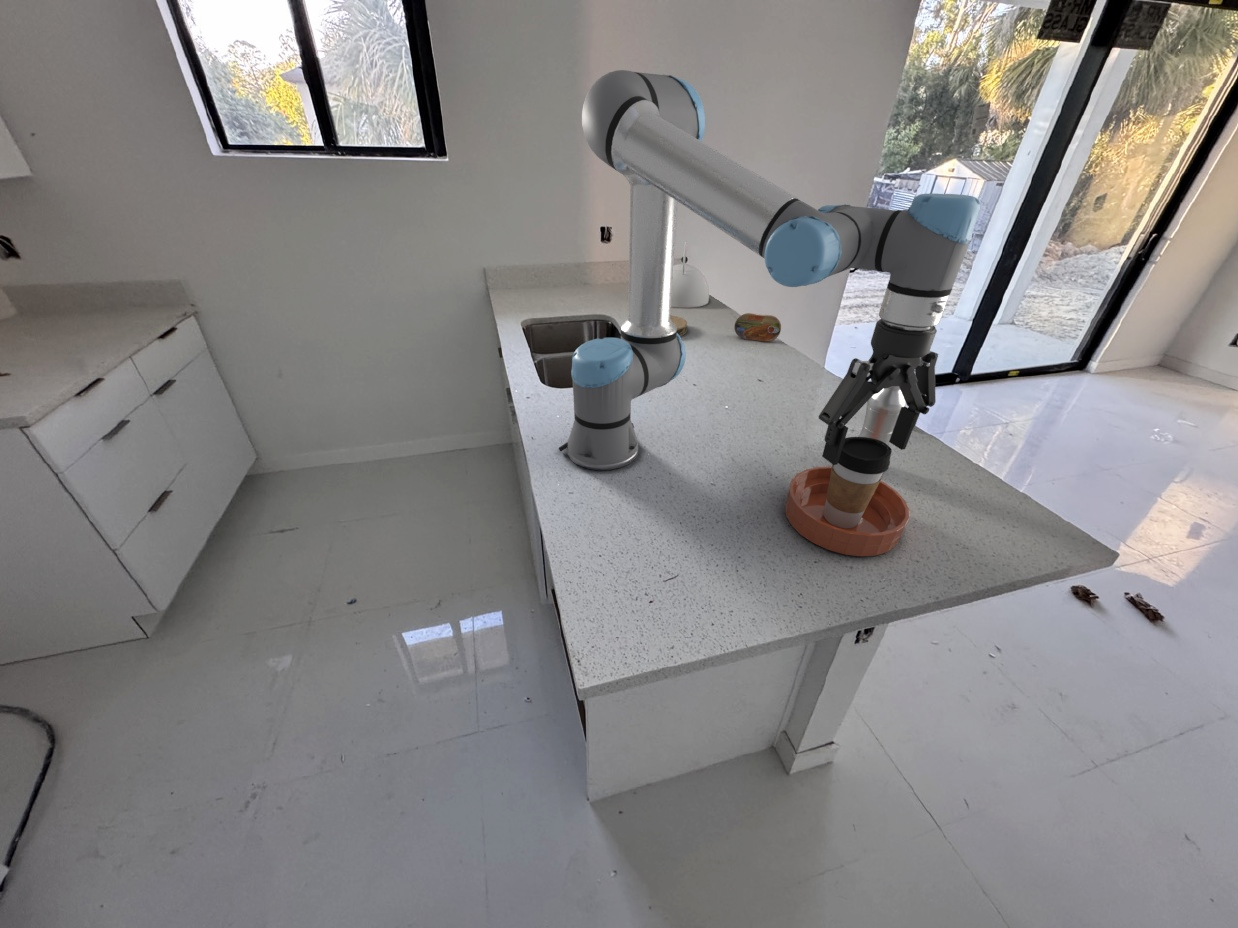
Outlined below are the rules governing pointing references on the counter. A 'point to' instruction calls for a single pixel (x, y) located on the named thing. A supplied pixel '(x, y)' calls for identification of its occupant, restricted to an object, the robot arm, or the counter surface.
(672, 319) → the round brown disc
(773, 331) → the tin
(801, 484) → the bowl
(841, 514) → the coffee cup
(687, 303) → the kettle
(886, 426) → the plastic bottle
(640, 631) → the counter surface
